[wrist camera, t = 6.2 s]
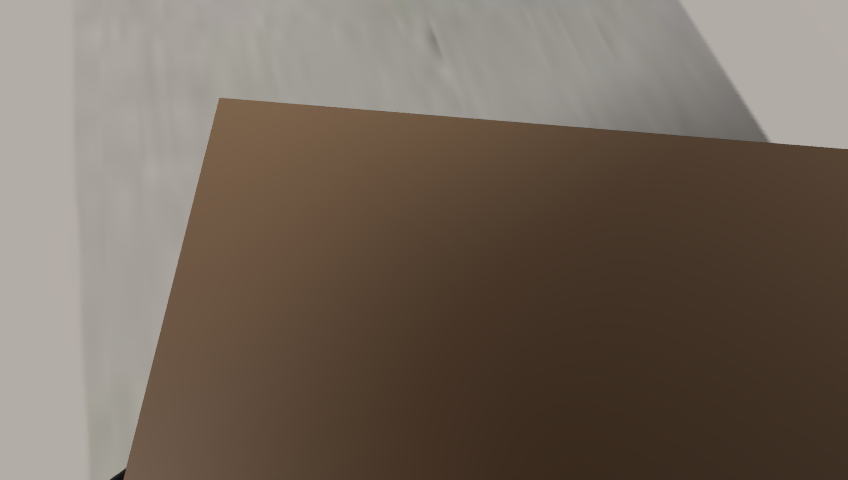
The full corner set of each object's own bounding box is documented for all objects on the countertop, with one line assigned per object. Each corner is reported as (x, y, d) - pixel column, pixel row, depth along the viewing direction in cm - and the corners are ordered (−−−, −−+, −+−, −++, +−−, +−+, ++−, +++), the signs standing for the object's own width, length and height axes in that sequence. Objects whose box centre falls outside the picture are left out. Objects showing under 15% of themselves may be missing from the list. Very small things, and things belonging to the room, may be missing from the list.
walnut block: (509, 461, 14) (1231, 1367, 1) (374, 446, 14) (-44, 1151, 2) (515, 323, 15) (941, 156, 3) (390, 311, 15) (220, 96, 3)
